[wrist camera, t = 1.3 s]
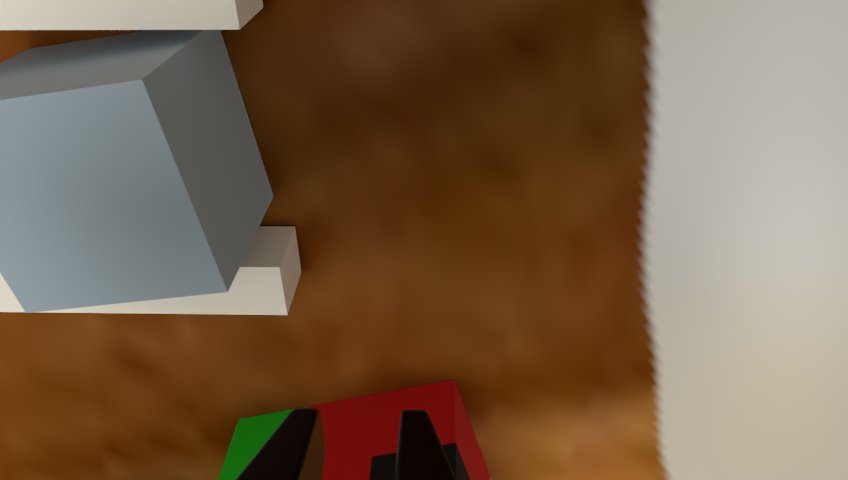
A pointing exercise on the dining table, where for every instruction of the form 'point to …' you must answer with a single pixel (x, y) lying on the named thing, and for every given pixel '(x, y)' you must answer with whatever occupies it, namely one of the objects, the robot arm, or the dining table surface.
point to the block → (125, 170)
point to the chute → (272, 245)
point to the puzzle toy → (371, 434)
